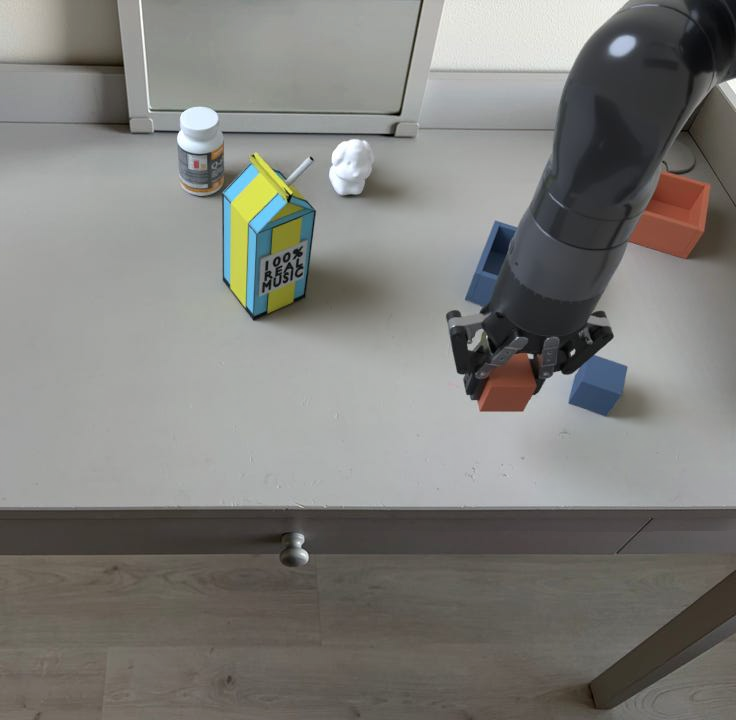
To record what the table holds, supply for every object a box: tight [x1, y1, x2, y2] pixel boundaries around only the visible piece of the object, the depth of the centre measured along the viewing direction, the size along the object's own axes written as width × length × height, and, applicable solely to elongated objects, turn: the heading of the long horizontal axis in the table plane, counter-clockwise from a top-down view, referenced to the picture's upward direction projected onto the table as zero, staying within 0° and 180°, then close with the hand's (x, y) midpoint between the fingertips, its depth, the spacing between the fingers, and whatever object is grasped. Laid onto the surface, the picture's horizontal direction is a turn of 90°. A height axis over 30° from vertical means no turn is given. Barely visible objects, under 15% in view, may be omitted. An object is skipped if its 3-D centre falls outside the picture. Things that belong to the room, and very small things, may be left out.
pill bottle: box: [176, 106, 225, 197], centre depth 97 cm, size 6×6×10 cm
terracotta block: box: [476, 353, 537, 413], centre depth 70 cm, size 4×4×4 cm
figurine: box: [328, 138, 375, 196], centre depth 98 cm, size 5×8×8 cm
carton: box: [221, 151, 317, 321], centre depth 83 cm, size 7×8×18 cm
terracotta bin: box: [628, 169, 712, 260], centre depth 97 cm, size 9×9×5 cm
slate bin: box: [464, 220, 518, 307], centre depth 90 cm, size 9×9×5 cm
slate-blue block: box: [568, 354, 628, 417], centre depth 81 cm, size 4×4×4 cm
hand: (498, 392), depth 71 cm, fingers closed on terracotta block, 4 cm apart
